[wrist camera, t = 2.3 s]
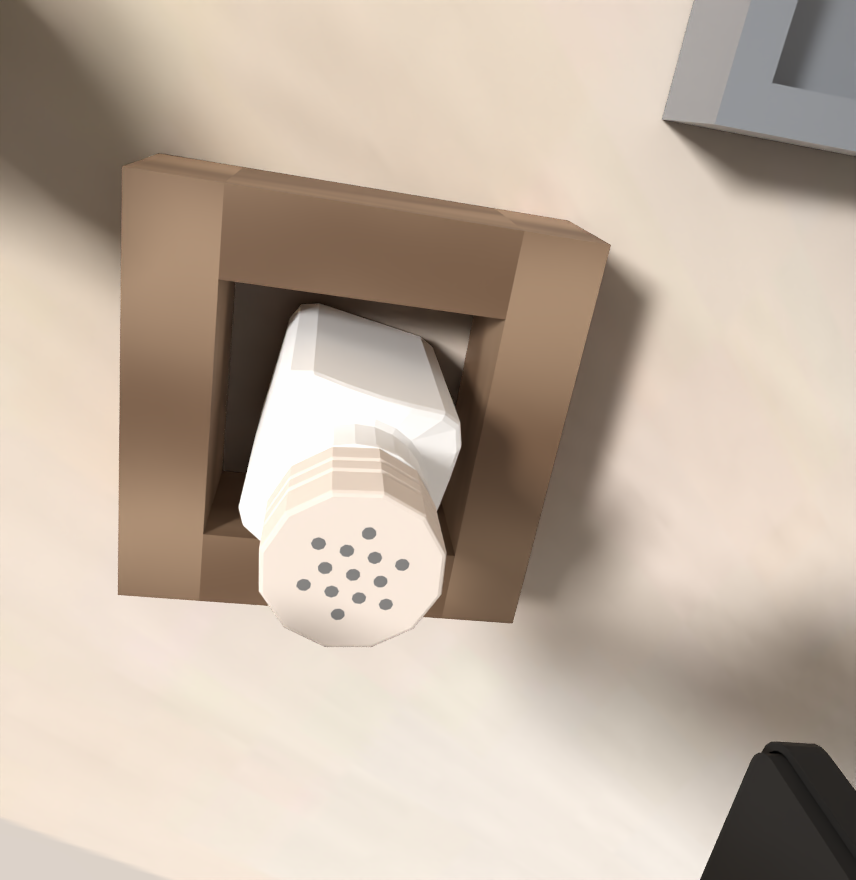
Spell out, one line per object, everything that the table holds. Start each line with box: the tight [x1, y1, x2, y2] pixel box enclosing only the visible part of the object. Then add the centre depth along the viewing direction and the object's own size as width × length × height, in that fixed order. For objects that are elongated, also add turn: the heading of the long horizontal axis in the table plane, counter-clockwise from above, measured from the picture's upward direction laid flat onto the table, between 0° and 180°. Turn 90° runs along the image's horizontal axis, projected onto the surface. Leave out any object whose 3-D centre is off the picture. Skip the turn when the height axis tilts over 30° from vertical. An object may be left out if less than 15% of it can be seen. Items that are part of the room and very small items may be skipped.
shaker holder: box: [118, 153, 611, 623], centre depth 20 cm, size 10×10×4 cm
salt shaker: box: [239, 303, 461, 647], centre depth 17 cm, size 4×4×10 cm
